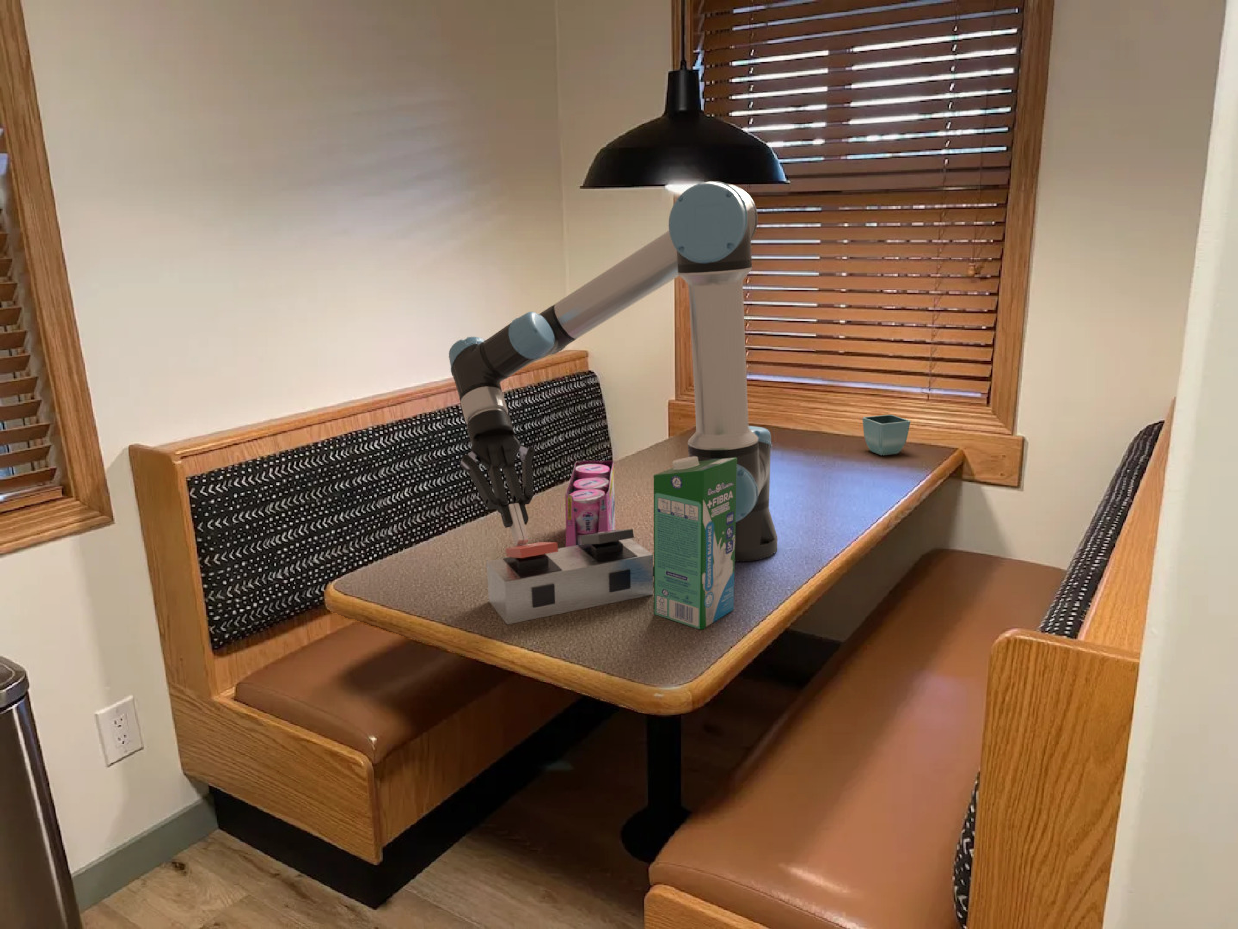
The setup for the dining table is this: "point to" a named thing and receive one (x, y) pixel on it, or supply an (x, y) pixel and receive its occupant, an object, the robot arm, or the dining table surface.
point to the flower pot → (885, 433)
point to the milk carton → (695, 540)
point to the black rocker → (607, 536)
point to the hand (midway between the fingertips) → (522, 542)
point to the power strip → (569, 579)
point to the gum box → (589, 500)
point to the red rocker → (531, 549)
